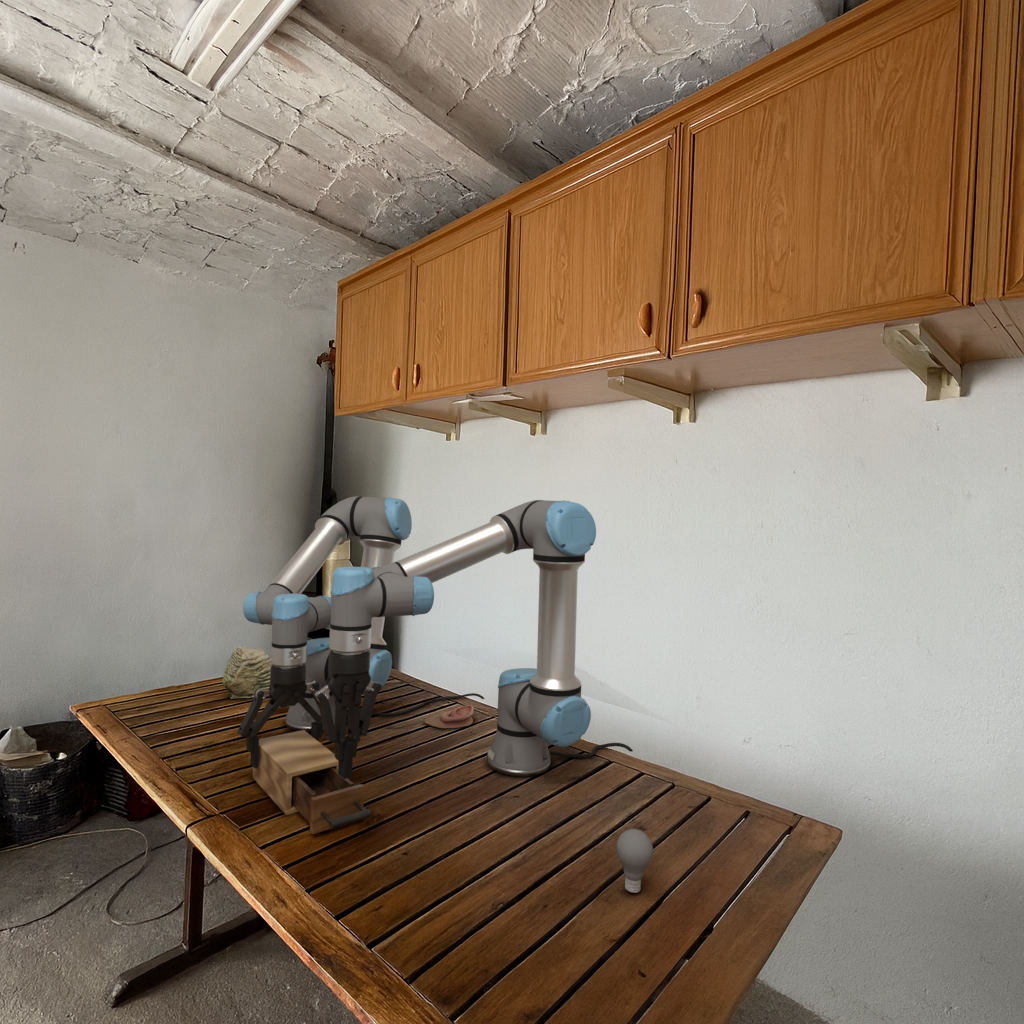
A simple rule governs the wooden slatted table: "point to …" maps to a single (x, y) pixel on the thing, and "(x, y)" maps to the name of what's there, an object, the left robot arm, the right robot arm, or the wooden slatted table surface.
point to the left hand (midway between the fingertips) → (285, 758)
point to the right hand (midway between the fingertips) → (344, 775)
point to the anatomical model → (452, 718)
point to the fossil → (247, 672)
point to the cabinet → (289, 764)
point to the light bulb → (634, 857)
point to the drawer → (328, 799)
